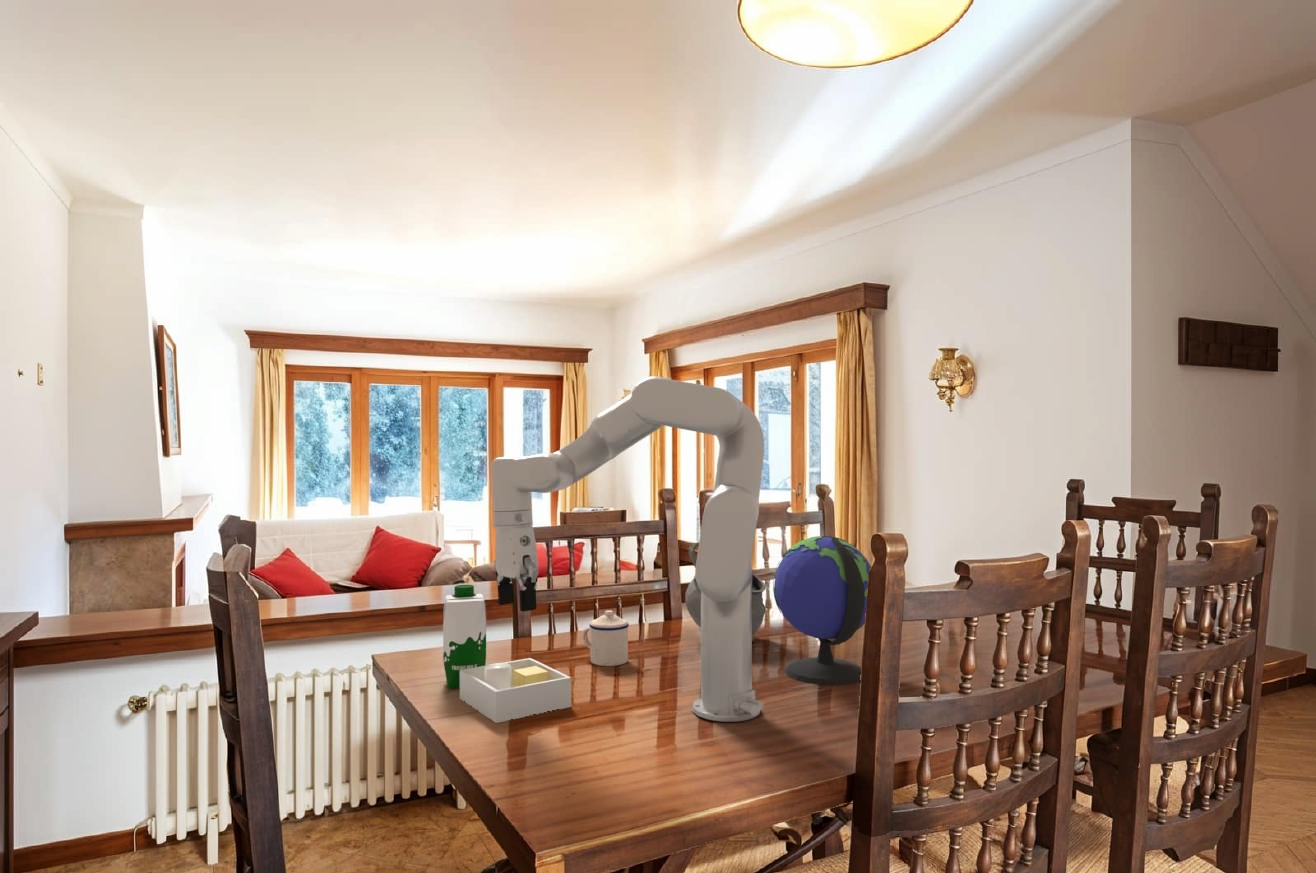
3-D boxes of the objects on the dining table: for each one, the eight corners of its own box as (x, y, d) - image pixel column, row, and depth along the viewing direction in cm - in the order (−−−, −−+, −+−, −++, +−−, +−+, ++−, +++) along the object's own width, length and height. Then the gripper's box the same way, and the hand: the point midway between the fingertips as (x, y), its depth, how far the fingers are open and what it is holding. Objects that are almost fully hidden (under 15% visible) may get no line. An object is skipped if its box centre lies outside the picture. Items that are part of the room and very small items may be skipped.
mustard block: (548, 697, 157) (548, 671, 157) (525, 702, 154) (525, 676, 154) (536, 690, 161) (536, 666, 161) (513, 695, 158) (513, 670, 158)
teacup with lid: (636, 660, 187) (636, 609, 187) (613, 669, 179) (613, 616, 179) (595, 653, 193) (595, 604, 193) (571, 661, 186) (571, 611, 186)
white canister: (515, 704, 153) (515, 667, 153) (491, 709, 150) (490, 671, 150) (504, 697, 157) (504, 661, 157) (480, 702, 154) (480, 665, 154)
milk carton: (484, 675, 174) (484, 583, 175) (487, 687, 166) (487, 590, 166) (442, 679, 172) (442, 585, 172) (443, 691, 163) (443, 592, 164)
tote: (571, 707, 153) (571, 677, 153) (495, 723, 144) (495, 691, 144) (530, 685, 167) (530, 658, 168) (459, 698, 159) (459, 670, 159)
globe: (892, 669, 178) (891, 533, 179) (856, 694, 160) (855, 544, 160) (799, 654, 191) (798, 528, 191) (756, 677, 173) (755, 537, 173)
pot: (671, 636, 210) (671, 540, 210) (740, 628, 218) (739, 536, 219) (709, 655, 191) (709, 549, 191) (782, 645, 200) (782, 544, 200)
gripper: (551, 519, 152) (555, 610, 152) (511, 516, 167) (515, 599, 166) (514, 523, 148) (519, 616, 148) (477, 519, 162) (481, 604, 162)
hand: (517, 607), depth 157 cm, fingers open, 9 cm apart
